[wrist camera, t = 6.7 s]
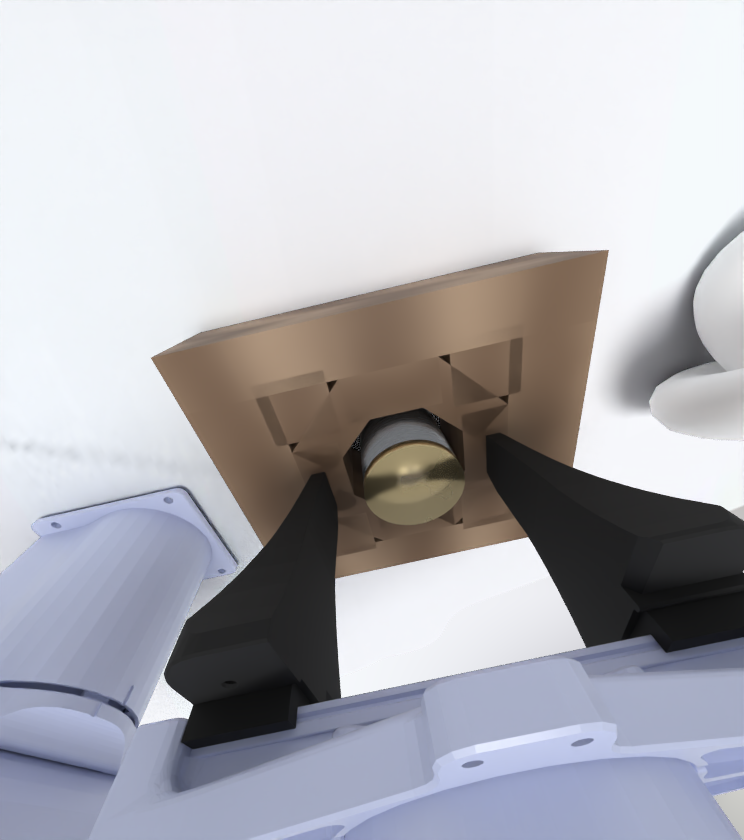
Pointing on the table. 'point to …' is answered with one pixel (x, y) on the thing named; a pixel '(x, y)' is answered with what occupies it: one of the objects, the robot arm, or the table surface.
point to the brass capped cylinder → (409, 468)
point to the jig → (396, 394)
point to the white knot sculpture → (727, 343)
